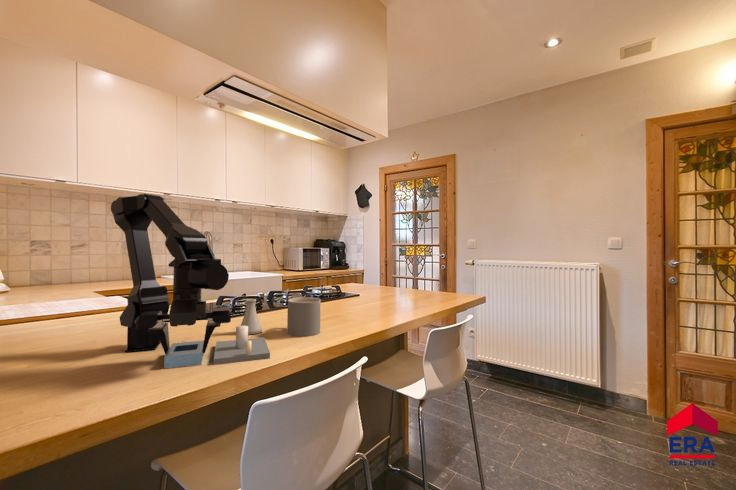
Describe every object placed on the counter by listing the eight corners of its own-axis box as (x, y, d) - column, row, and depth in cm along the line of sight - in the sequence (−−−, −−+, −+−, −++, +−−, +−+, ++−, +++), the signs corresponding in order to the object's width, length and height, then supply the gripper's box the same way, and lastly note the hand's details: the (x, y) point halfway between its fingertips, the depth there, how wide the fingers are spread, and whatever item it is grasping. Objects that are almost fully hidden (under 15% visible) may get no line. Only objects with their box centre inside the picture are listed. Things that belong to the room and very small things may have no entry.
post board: (213, 364, 71) (214, 336, 71) (216, 346, 84) (216, 322, 84) (269, 358, 76) (270, 331, 76) (264, 341, 89) (264, 319, 89)
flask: (257, 335, 95) (258, 301, 95) (233, 335, 95) (234, 301, 95) (266, 329, 102) (266, 298, 102) (243, 329, 103) (244, 297, 103)
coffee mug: (325, 334, 98) (325, 301, 98) (293, 338, 93) (294, 303, 93) (309, 324, 109) (309, 295, 109) (279, 328, 104) (280, 297, 104)
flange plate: (201, 364, 71) (201, 352, 71) (164, 368, 69) (164, 356, 69) (204, 350, 81) (204, 340, 81) (172, 354, 78) (172, 343, 78)
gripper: (128, 293, 64) (126, 372, 64) (231, 290, 71) (229, 361, 71) (142, 286, 74) (141, 355, 74) (231, 284, 81) (230, 346, 81)
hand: (186, 354), depth 75 cm, fingers closed on flange plate, 7 cm apart
